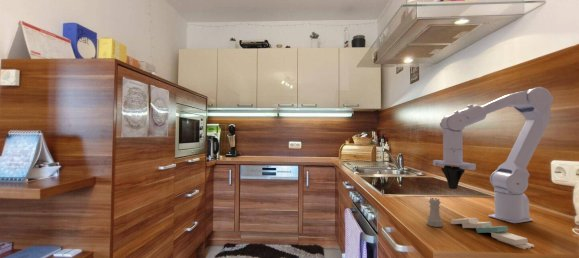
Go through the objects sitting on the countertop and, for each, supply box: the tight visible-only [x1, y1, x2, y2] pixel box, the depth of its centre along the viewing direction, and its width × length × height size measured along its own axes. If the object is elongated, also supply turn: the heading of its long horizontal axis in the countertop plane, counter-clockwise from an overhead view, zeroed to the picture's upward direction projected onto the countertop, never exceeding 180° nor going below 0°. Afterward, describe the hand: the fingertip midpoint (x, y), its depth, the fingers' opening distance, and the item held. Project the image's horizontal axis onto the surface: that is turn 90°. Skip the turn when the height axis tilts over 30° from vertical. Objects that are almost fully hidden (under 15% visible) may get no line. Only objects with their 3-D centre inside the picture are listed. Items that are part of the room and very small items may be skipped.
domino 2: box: [461, 221, 493, 229], centre depth 77 cm, size 4×1×6 cm
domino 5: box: [496, 239, 535, 250], centre depth 67 cm, size 4×1×6 cm
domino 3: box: [475, 225, 509, 234], centre depth 73 cm, size 4×1×6 cm
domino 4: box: [490, 231, 529, 245], centre depth 68 cm, size 4×1×6 cm
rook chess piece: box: [426, 197, 444, 228], centre depth 81 cm, size 4×4×8 cm
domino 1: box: [450, 217, 480, 225], centre depth 80 cm, size 4×1×6 cm
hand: (453, 188), depth 91 cm, fingers closed
